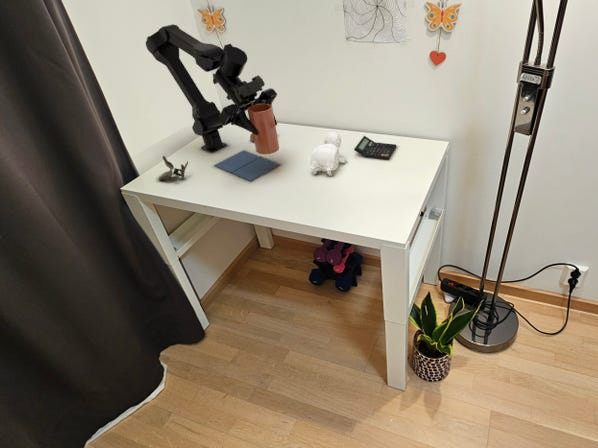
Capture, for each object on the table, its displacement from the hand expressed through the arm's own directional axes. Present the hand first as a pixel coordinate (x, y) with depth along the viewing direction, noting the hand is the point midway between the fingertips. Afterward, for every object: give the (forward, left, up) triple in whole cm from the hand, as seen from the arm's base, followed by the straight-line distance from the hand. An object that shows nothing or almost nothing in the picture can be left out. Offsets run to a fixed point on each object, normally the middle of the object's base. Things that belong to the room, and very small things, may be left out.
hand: (267, 129), depth 117 cm
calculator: (+20, +26, -14) cm, 36 cm away
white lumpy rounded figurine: (+13, +11, -14) cm, 22 cm away
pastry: (-21, +14, -14) cm, 29 cm away
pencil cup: (-2, 0, -7) cm, 7 cm away
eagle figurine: (-24, -21, -14) cm, 35 cm away
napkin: (-10, -3, -13) cm, 17 cm away
